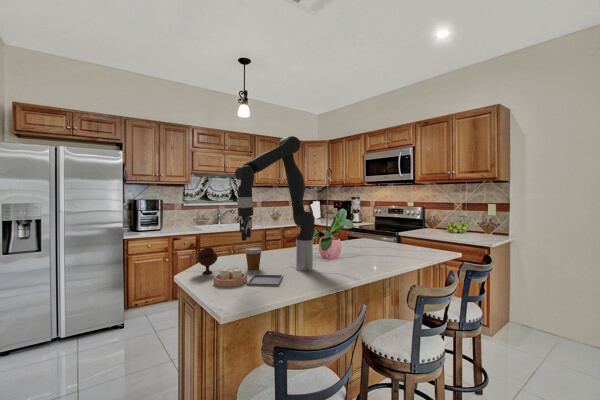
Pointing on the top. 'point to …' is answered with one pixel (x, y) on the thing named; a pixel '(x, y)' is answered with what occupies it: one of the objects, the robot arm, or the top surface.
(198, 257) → the ice cream bowl
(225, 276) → the pebble
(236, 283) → the terracotta bowl
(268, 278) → the tray
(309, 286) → the top surface
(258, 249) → the disposable coffee cup
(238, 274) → the pebble
